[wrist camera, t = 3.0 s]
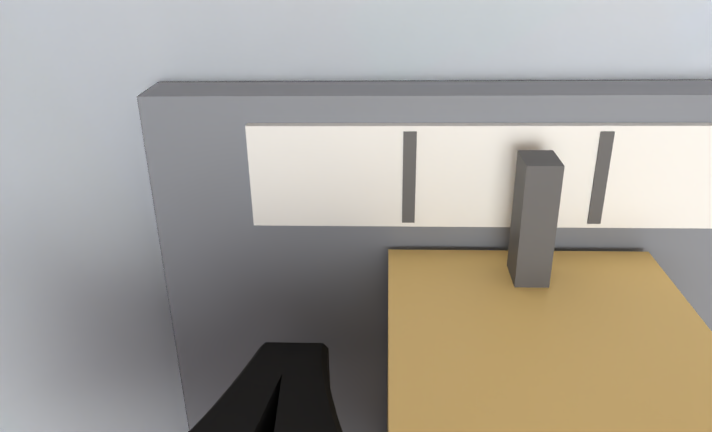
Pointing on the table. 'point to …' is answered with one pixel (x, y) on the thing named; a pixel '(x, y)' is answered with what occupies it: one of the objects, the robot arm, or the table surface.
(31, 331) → the table surface
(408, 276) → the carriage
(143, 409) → the table surface
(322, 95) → the gauge track
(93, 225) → the table surface
